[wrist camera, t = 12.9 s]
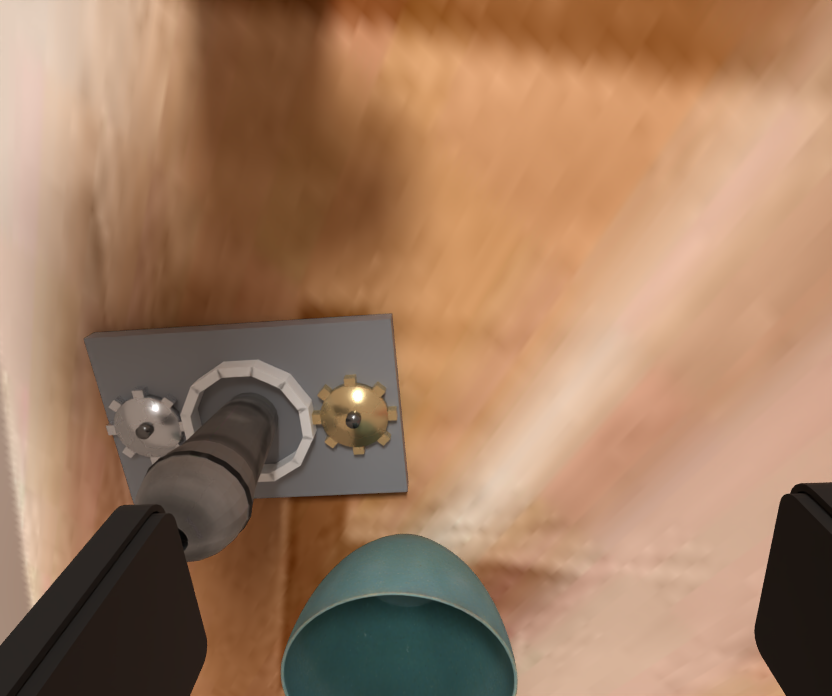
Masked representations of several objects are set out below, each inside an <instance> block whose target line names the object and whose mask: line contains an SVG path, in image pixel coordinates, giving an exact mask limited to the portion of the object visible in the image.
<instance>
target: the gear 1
mask: <svg viewBox="0 0 832 696" xmlns="http://www.w3.org/2000/svg"><path fill="white" fill-rule="evenodd" d="M132 395H133V397H131V398H130V399H128V400H127V401H126V400H124V399H123V398H121V397H120V396H118V397H117V398H115V399H114V400H113V402H112V403H111V404H110V406H109V408H110V409H112V410H113V411H115V412H116V414H115V418H114V421H111V422H110V423H108V424H107V425H106V428H107V431H108V435H117V436H118V437H119V439H120V440H121V442H122V443H123V444H124V445H125V446H126V448H125V449H124V450H123V452H122V453H124V454H125V455H127V456H128V457H130V458H132V457H133V456H134V455H135V454H136V453H137V454H139V455H142V456H146V457H150V459H151V462H152V464H154V463H155V462H156V461H157V460H158V459H159V458H161V457H163V456H165V455H166V454H167V453H169V452H170V451H172V450H173V449H175V448H176V447H178V446H181V445H182V444H183V443H184V442H185V441H184V440H182V438H183V435H184V428H183V424H182V420H181V416H180V413H179V411H178V410H177V409H176V408H175V407H174V406H173V405H174V404H175V402H176V401H177V400H178V399H177V398H175V397H174V396H172V395H171V394H169V393H168V394H167V395H166V396H165V397H164V398H161V397H158V396H155V395H150V394H149V393H148V389H147V386H144V387H136V388H134V389H133V390H132ZM125 401H126V402H125ZM180 441H181V442H180Z"/></svg>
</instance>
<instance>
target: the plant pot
mask: <svg viewBox="0 0 832 696" xmlns="http://www.w3.org/2000/svg"><path fill="white" fill-rule="evenodd" d="M281 682H282V687H283V690H284V693H285V696H516V693H517V670H516V664H515V660H514V655H513V651H512V647H511V644H510V641H509V638H508V635H507V632H506V629H505V627H504V624H503V622H502V619H501V617H500V614H499V612H498V610H497V608H496V606H495V604H494V602H493V601H492V599H491V597H490V595H489V593H488V592H487V590H486V589H485V587H484V586H483V584H482V583H481V581H480V580H479V579H478V577H477V576H476V575H475V574H474V572H473V571H472V570H471V569H470V568H469V567H468V566H467V565H466V564H465V563H464V562H463V561H462V560H461V559H460V558H459V557H458V556H456V555H455V554H454V553H453V552H451V551H450V550H448V549H447V548H445V547H444V546H442V545H440V544H438V543H436V542H434V541H432V540H430V539H428V538H425V537H422V536H418V535H412V534H396V535H391V536H386V537H383V538H380V539H377V540H374V541H372V542H370V543H368V544H366V545H364V546H362V547H360V548H358V549H357V550H355V551H354V552H352V553H351V554H349V555H348V556H347V557H346V558H344V559H343V560H342V561H341V562H340V563H339V564H338V565H336V566H335V567H334V568H333V569H332V570H331V571H330V573H329V574H328V575H327V576H326V577H325V578H324V579H323V581H322V582H321V583H320V584H319V586H318V587H317V588H316V590H315V591H314V593H313V594H312V596H311V597H310V599H309V600H308V602H307V603H306V605H305V607H304V609H303V610H302V612H301V614H300V616H299V618H298V620H297V622H296V624H295V626H294V628H293V630H292V633H291V635H290V638H289V640H288V643H287V646H286V649H285V652H284V655H283V658H282V663H281Z"/></svg>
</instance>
